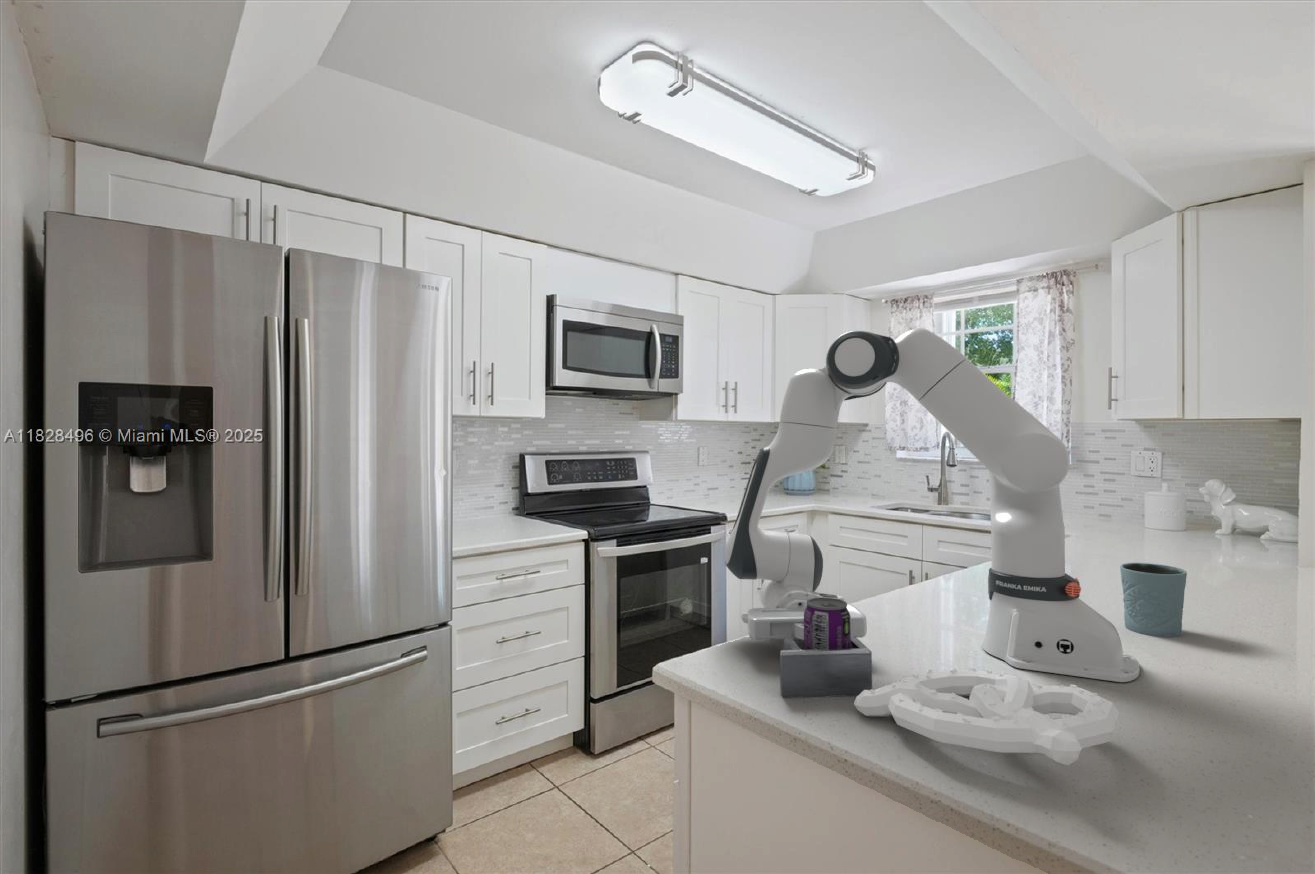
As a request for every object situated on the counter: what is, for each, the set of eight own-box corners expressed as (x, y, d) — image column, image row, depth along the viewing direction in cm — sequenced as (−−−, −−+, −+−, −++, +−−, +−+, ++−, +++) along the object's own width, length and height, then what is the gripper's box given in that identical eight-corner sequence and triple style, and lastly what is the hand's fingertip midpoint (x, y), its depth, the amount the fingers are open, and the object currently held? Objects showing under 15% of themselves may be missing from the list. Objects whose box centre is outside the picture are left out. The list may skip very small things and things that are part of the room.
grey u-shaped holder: (769, 674, 101) (769, 633, 101) (854, 672, 102) (854, 631, 102) (782, 697, 93) (781, 652, 93) (875, 695, 93) (874, 650, 93)
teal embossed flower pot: (1163, 623, 126) (1162, 562, 126) (1201, 639, 116) (1201, 573, 116) (1108, 622, 127) (1108, 562, 127) (1142, 638, 117) (1141, 573, 117)
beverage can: (860, 684, 97) (859, 606, 97) (818, 690, 95) (817, 610, 95) (835, 668, 104) (834, 595, 104) (796, 672, 102) (795, 598, 102)
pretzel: (839, 732, 85) (834, 682, 86) (940, 695, 98) (935, 652, 99) (1067, 801, 62) (1058, 732, 63) (1158, 741, 76) (1149, 685, 76)
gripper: (739, 597, 116) (752, 619, 102) (850, 595, 116) (878, 616, 103) (739, 631, 116) (753, 658, 102) (850, 629, 116) (879, 655, 103)
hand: (817, 637), depth 102 cm, fingers closed, pressing on beverage can
